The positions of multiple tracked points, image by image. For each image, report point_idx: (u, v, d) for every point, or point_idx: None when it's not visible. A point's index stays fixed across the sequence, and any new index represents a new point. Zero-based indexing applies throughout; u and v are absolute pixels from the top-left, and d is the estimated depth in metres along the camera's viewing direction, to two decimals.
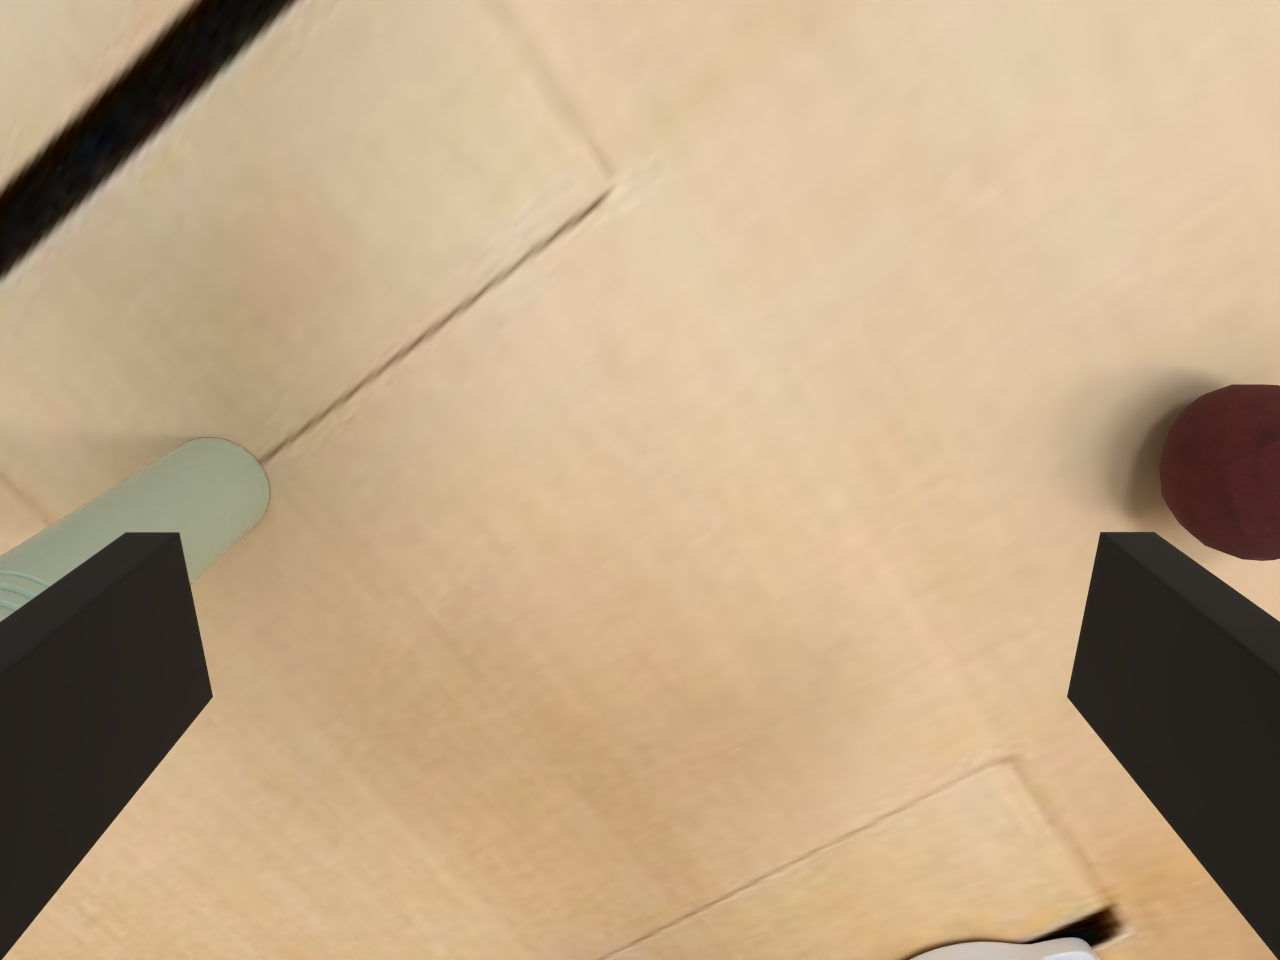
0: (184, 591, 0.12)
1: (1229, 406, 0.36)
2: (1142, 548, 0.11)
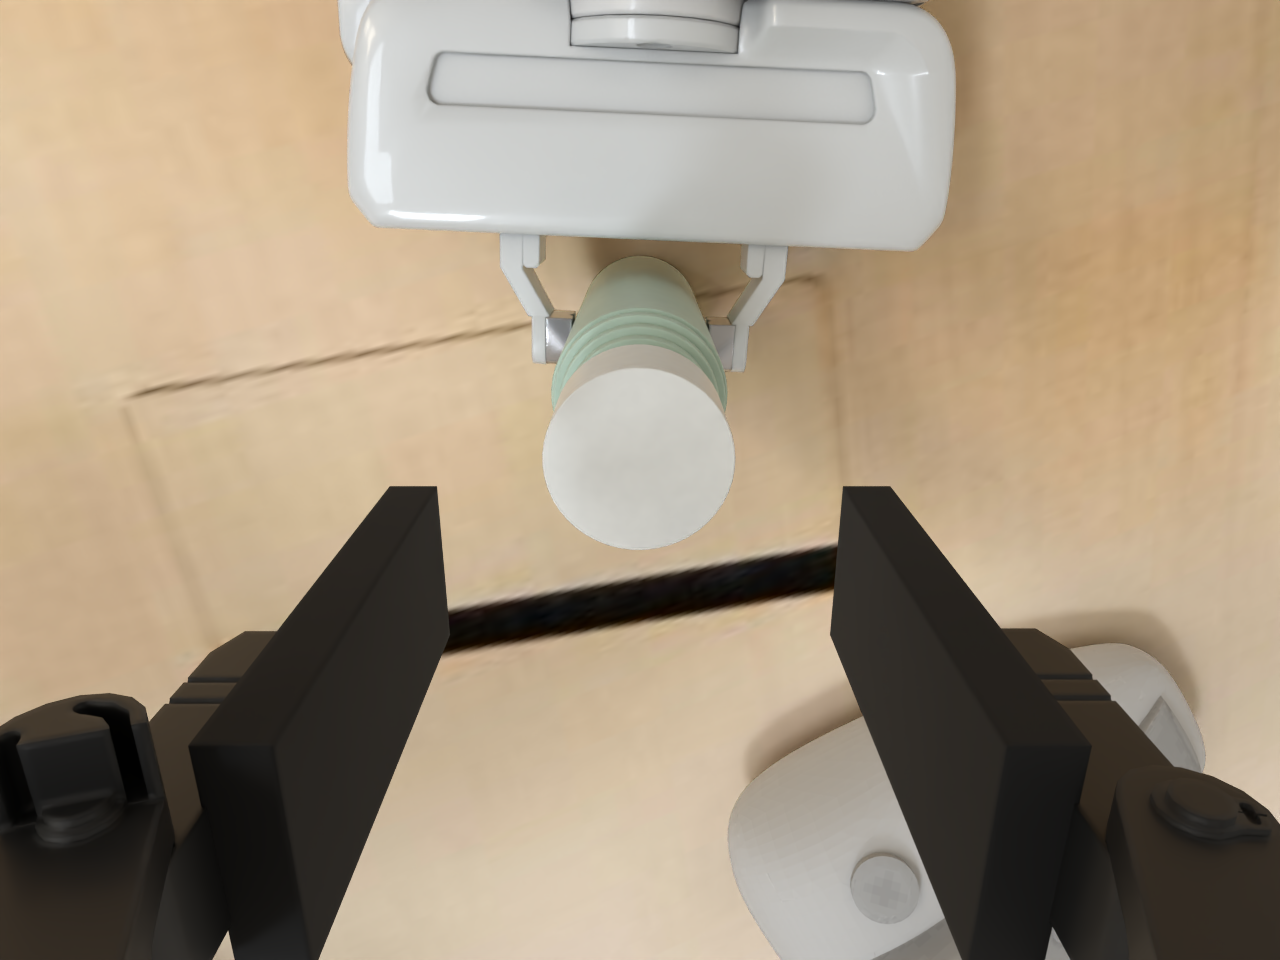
0: (439, 538, 0.14)
1: None
2: (869, 498, 0.13)
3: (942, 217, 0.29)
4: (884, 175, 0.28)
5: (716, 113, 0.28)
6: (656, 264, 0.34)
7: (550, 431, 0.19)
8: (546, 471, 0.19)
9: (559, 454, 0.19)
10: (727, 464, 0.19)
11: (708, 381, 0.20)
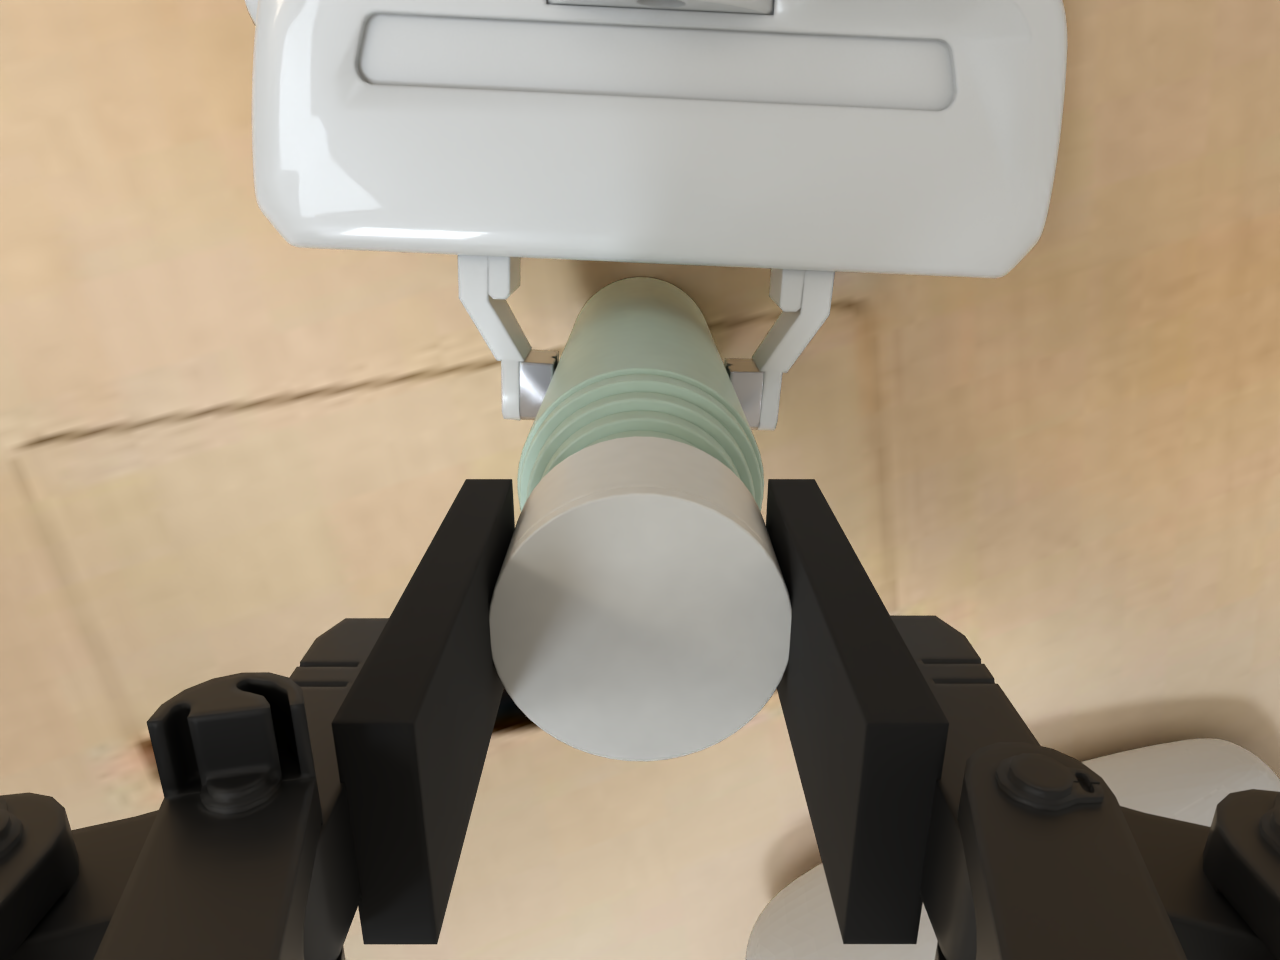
0: (513, 530, 0.14)
1: None
2: (791, 491, 0.13)
3: (1040, 234, 0.22)
4: (965, 178, 0.21)
5: (743, 96, 0.21)
6: (661, 289, 0.28)
7: (499, 590, 0.12)
8: (494, 648, 0.12)
9: (514, 624, 0.12)
10: (781, 639, 0.12)
11: (746, 495, 0.13)
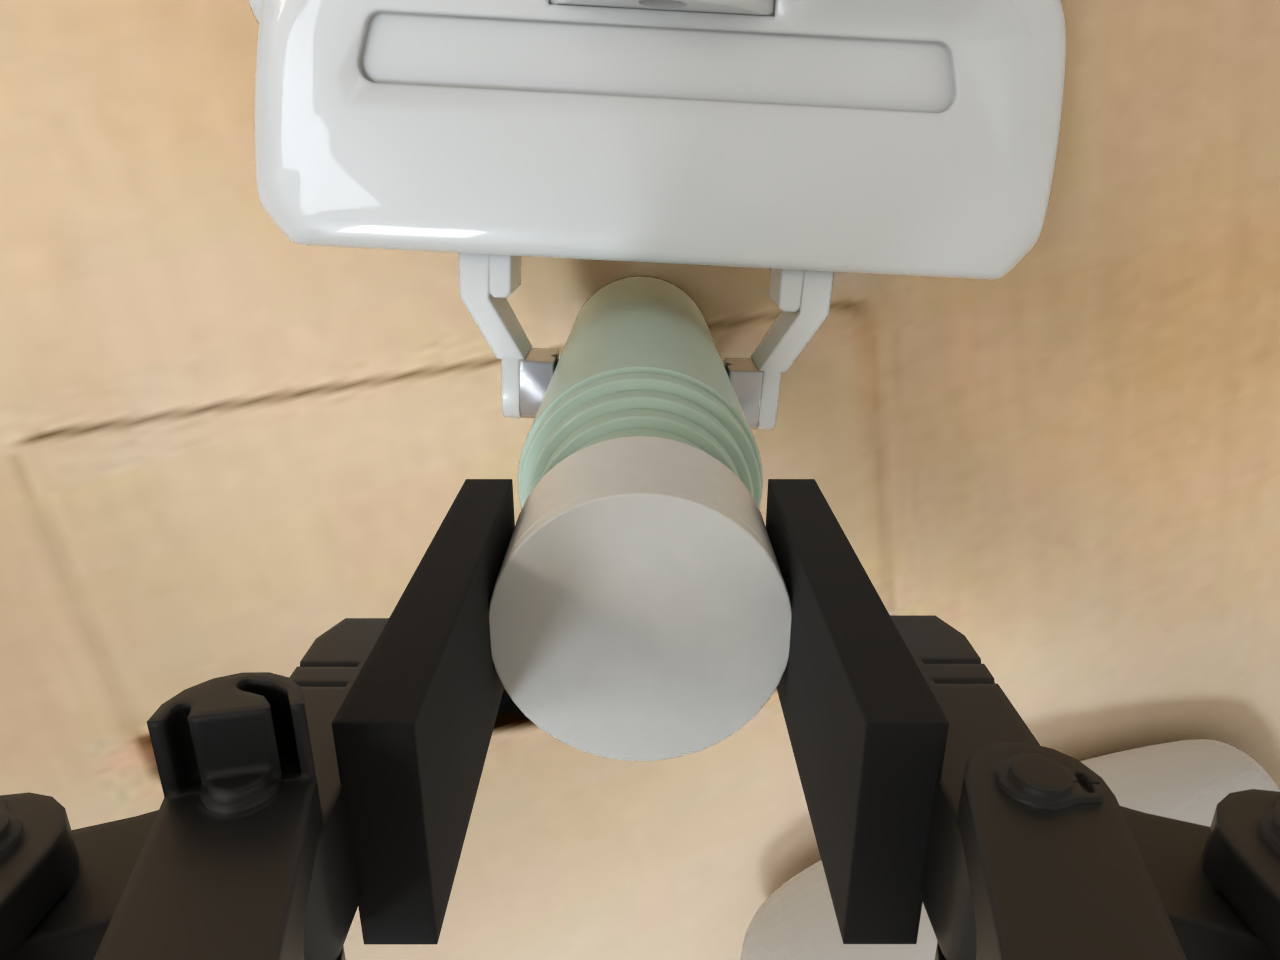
0: (513, 530, 0.14)
1: None
2: (791, 491, 0.13)
3: (1038, 236, 0.22)
4: (964, 180, 0.21)
5: (743, 97, 0.21)
6: (661, 289, 0.28)
7: (622, 757, 0.13)
8: (686, 750, 0.13)
9: (655, 740, 0.13)
10: (608, 508, 0.11)
11: (529, 500, 0.13)
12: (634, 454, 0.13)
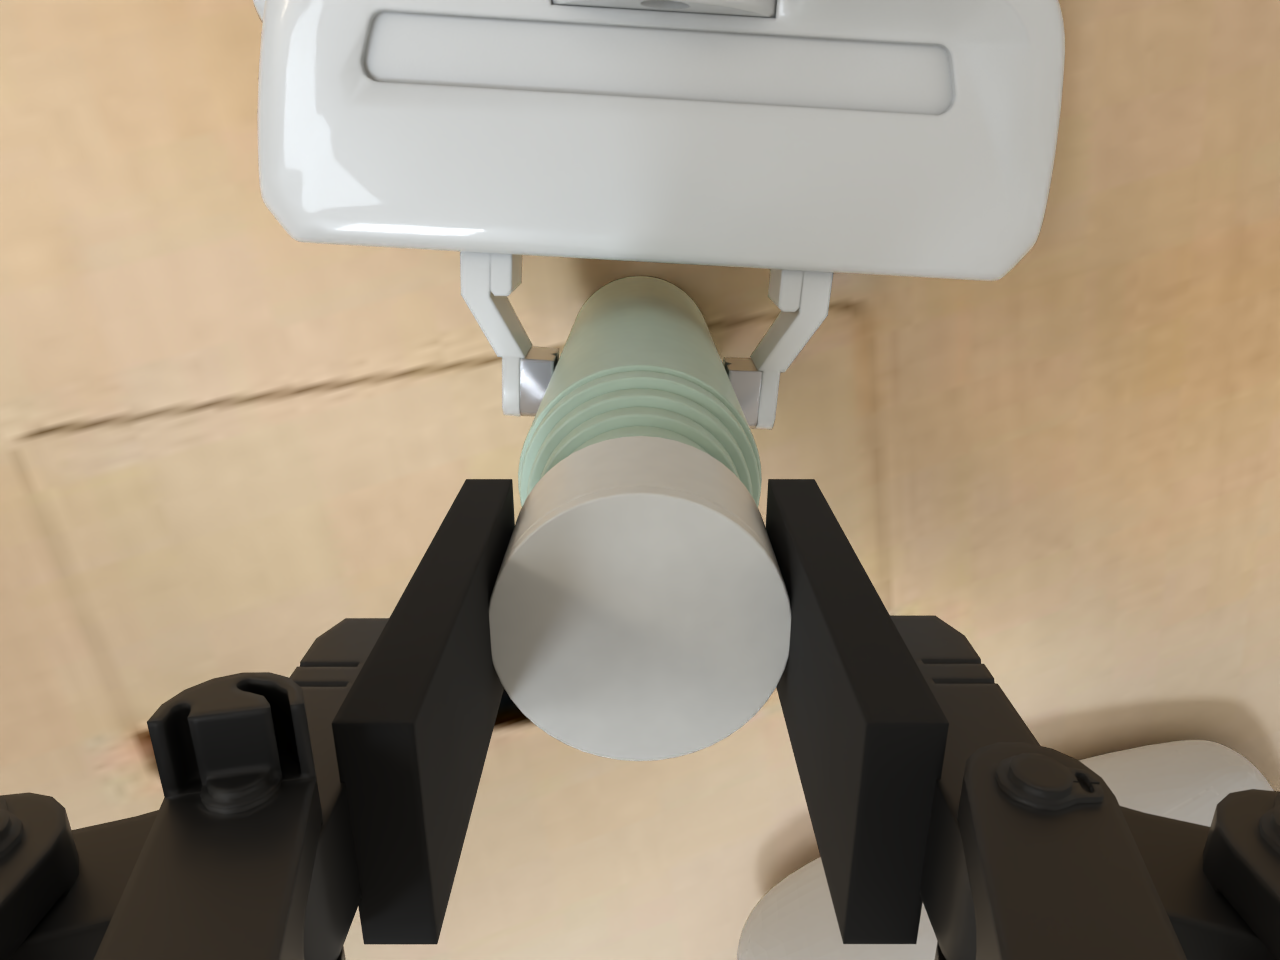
0: None
1: None
2: (791, 491, 0.13)
3: (1036, 238, 0.22)
4: (963, 182, 0.21)
5: (744, 98, 0.21)
6: (661, 288, 0.28)
7: (787, 622, 0.12)
8: (767, 562, 0.12)
9: (759, 596, 0.12)
10: (516, 687, 0.12)
11: None
12: None
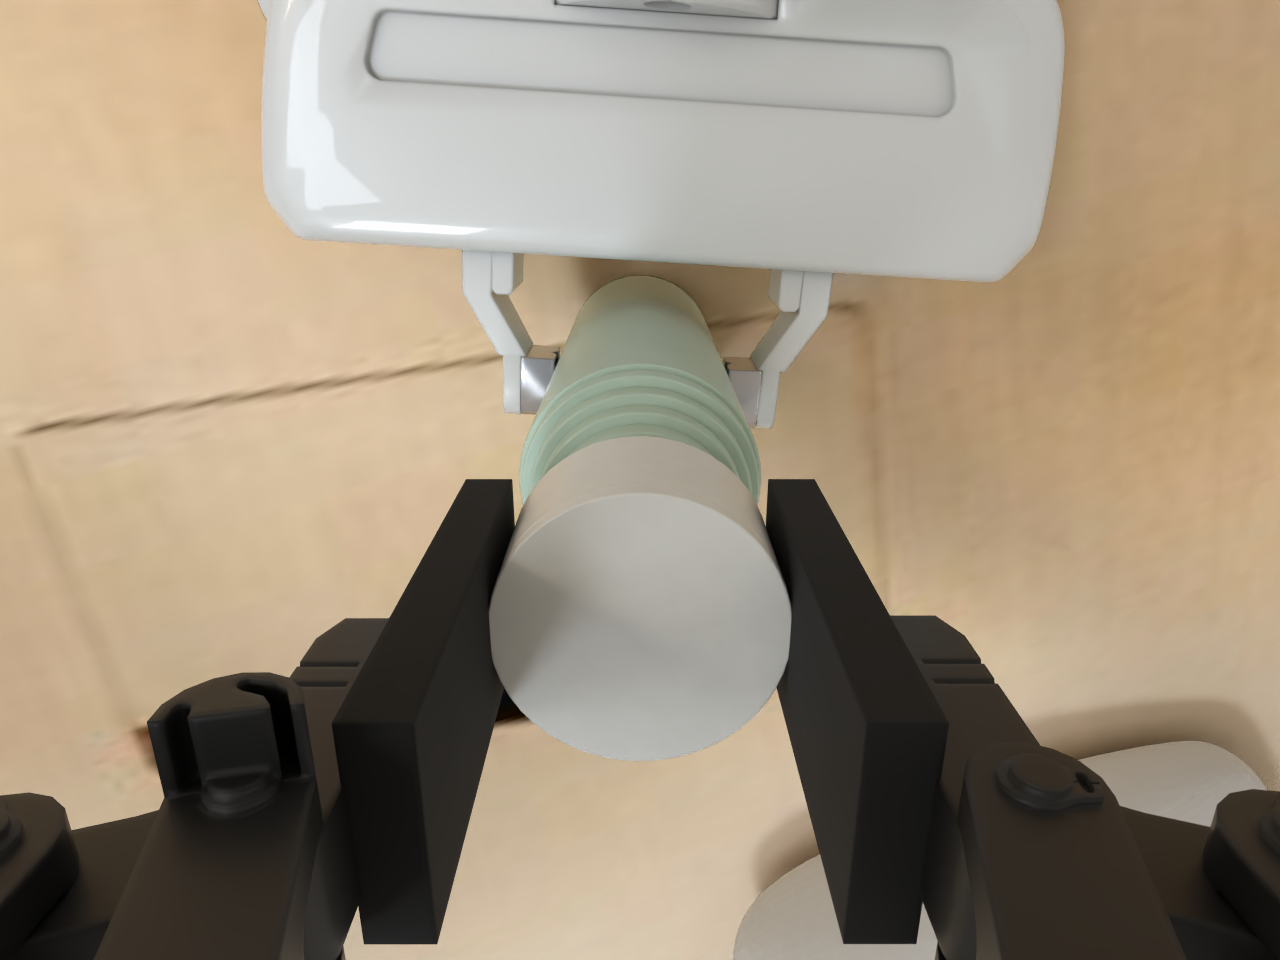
0: (513, 530, 0.14)
1: None
2: (791, 490, 0.13)
3: (1035, 240, 0.22)
4: (962, 184, 0.22)
5: (745, 99, 0.21)
6: (661, 288, 0.28)
7: (587, 507, 0.11)
8: (528, 541, 0.11)
9: (566, 540, 0.11)
10: (725, 727, 0.12)
11: None
12: None
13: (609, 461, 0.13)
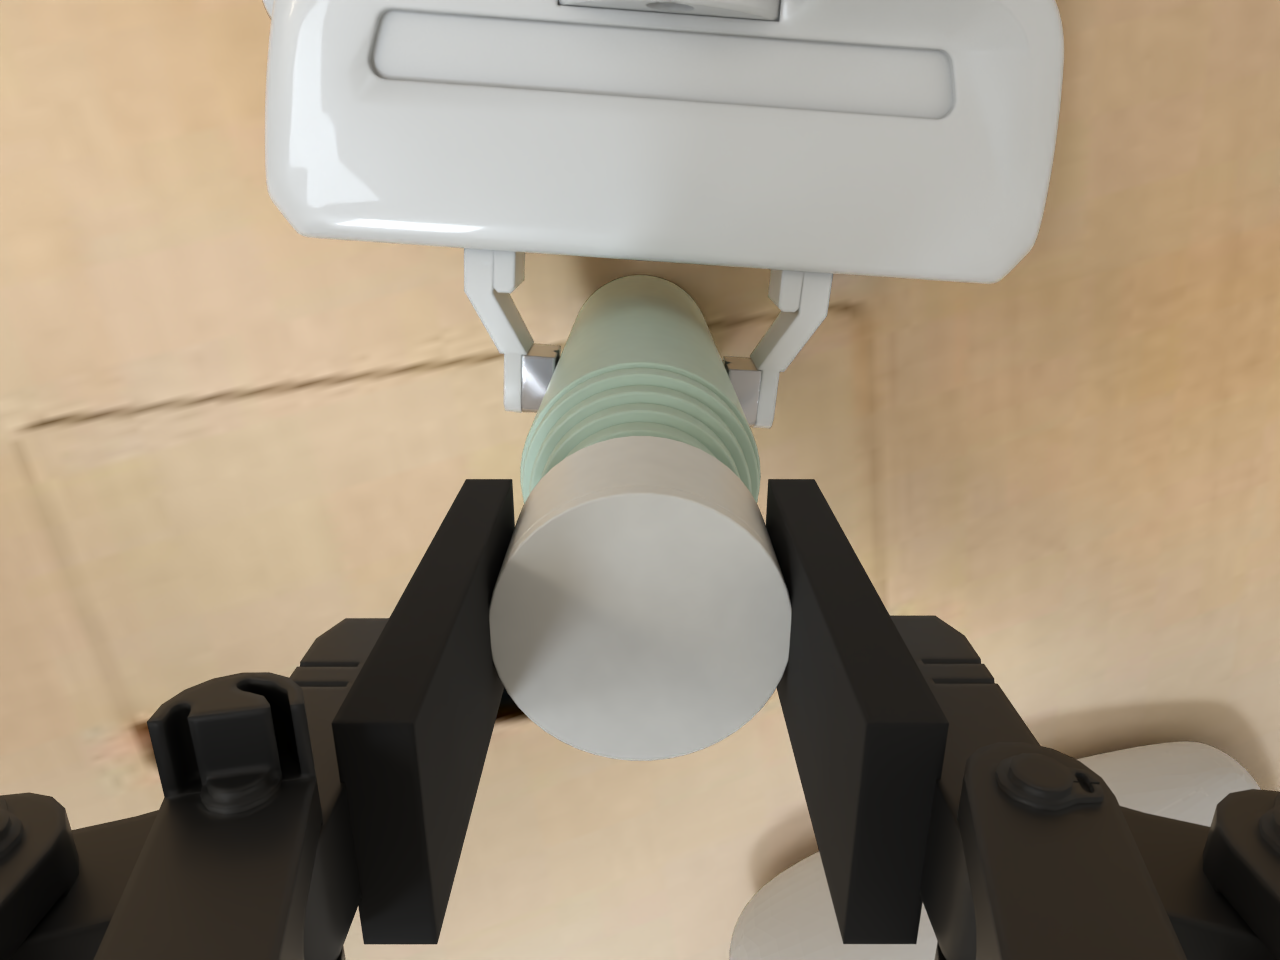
0: (513, 530, 0.14)
1: None
2: (790, 491, 0.13)
3: (1034, 242, 0.22)
4: (962, 185, 0.22)
5: (747, 100, 0.21)
6: (662, 287, 0.28)
7: (520, 704, 0.12)
8: (569, 740, 0.13)
9: (558, 714, 0.12)
10: (730, 533, 0.11)
11: (631, 447, 0.13)
12: (743, 497, 0.13)
13: None
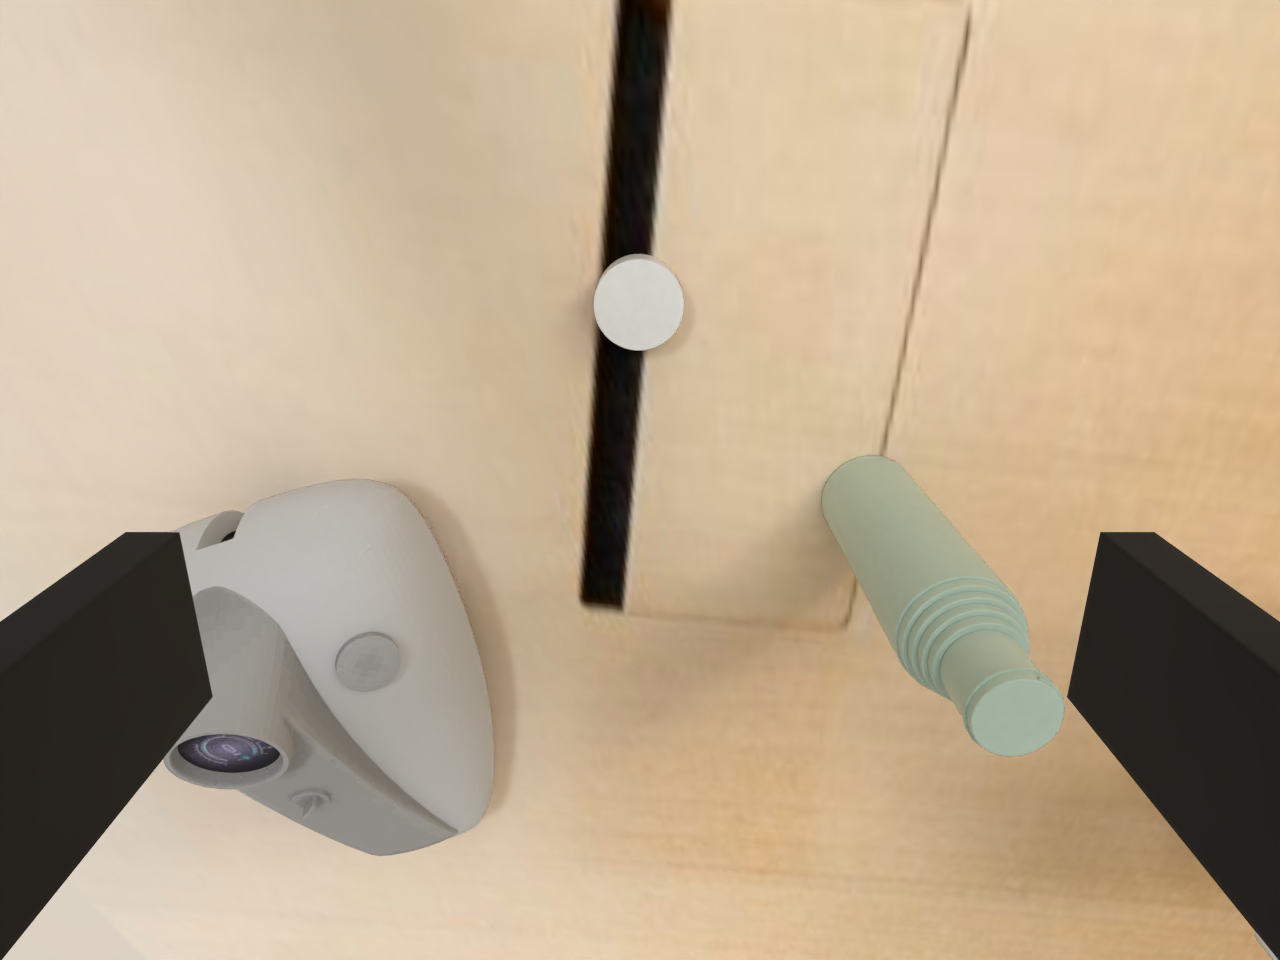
0: (184, 591, 0.12)
1: None
2: (1142, 548, 0.11)
3: None
4: None
5: None
6: None
7: (602, 329, 0.41)
8: (617, 343, 0.41)
9: (613, 333, 0.41)
10: (664, 272, 0.40)
11: (636, 255, 0.41)
12: (671, 270, 0.41)
13: None
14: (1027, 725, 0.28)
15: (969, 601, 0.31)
